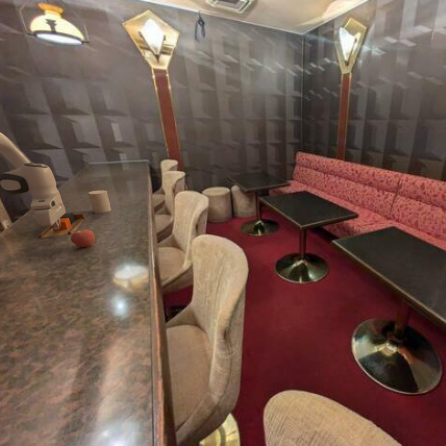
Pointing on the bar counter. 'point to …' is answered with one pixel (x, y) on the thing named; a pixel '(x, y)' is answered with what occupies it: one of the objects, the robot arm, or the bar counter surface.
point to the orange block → (64, 224)
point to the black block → (70, 216)
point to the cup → (100, 201)
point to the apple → (83, 238)
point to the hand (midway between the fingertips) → (57, 228)
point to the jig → (70, 230)
